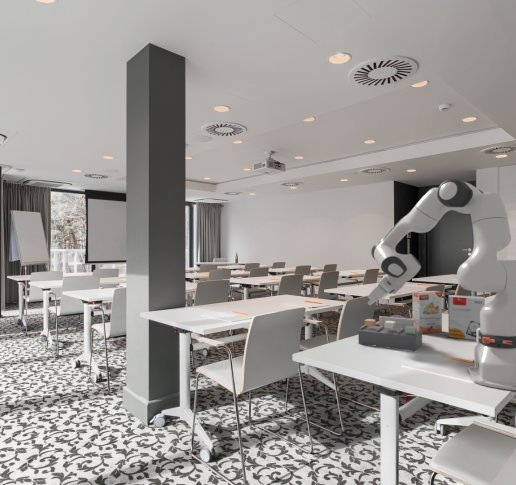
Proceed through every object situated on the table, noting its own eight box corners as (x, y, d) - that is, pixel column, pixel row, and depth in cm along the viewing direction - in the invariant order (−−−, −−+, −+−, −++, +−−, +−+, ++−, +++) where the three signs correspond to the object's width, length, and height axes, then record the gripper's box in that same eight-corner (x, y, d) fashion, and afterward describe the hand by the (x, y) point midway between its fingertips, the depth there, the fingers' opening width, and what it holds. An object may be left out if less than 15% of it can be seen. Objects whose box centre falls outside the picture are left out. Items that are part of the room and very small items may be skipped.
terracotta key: (373, 326, 175) (373, 321, 175) (364, 325, 178) (364, 320, 178) (375, 325, 179) (375, 319, 179) (367, 324, 181) (367, 318, 181)
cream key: (393, 328, 171) (393, 323, 171) (384, 327, 173) (384, 322, 173) (395, 327, 174) (395, 321, 174) (386, 326, 176) (386, 320, 177)
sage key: (414, 334, 166) (414, 328, 166) (405, 333, 168) (405, 327, 168) (416, 332, 169) (416, 326, 170) (407, 331, 172) (407, 325, 172)
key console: (416, 351, 161) (415, 327, 161) (358, 343, 174) (358, 321, 174) (424, 341, 177) (424, 320, 177) (371, 335, 191) (370, 315, 191)
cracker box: (419, 334, 194) (419, 292, 194) (412, 331, 199) (411, 291, 200) (443, 332, 197) (442, 291, 198) (434, 329, 203) (434, 290, 203)
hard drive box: (448, 337, 185) (447, 296, 186) (448, 334, 192) (448, 294, 193) (485, 341, 178) (484, 298, 179) (484, 337, 185) (483, 296, 185)
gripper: (391, 277, 184) (370, 296, 189) (379, 280, 166) (357, 301, 172) (400, 287, 181) (380, 306, 186) (390, 291, 164) (367, 312, 169)
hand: (369, 303), depth 179 cm, fingers closed
